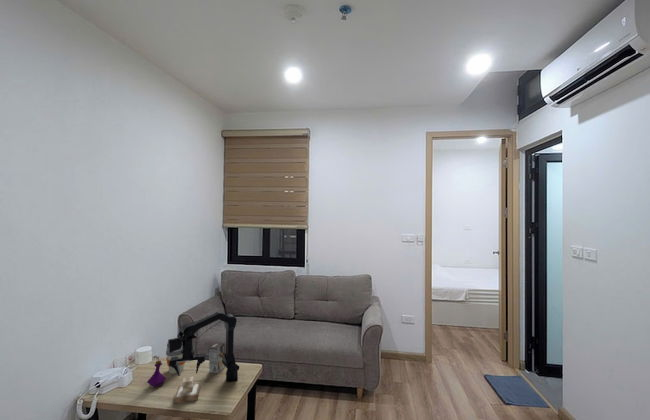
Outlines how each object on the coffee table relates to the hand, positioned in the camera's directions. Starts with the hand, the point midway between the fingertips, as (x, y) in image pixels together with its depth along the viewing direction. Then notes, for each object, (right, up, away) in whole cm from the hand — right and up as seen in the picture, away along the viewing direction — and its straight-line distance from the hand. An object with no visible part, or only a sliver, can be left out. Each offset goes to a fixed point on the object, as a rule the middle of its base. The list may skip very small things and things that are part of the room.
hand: (188, 374), depth 173 cm
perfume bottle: (-24, -13, +11) cm, 29 cm away
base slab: (0, -12, 0) cm, 12 cm away
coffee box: (+7, -12, +29) cm, 32 cm away
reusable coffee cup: (-20, -13, +28) cm, 37 cm away
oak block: (0, -9, 0) cm, 9 cm away
